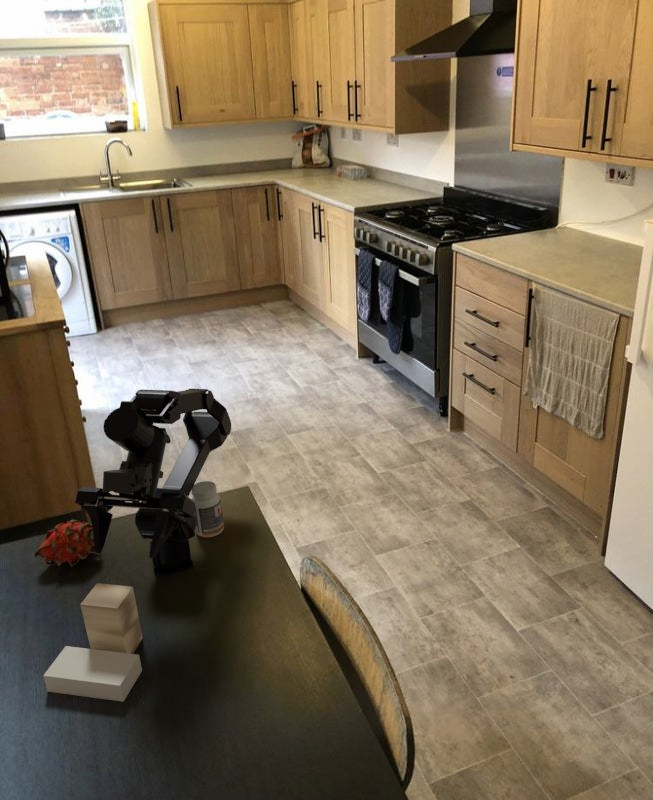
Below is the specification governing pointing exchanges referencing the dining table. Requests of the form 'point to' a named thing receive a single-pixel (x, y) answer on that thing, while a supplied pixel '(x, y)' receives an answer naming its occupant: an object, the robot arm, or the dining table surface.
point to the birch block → (112, 618)
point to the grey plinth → (93, 673)
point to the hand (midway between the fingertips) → (124, 555)
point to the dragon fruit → (67, 543)
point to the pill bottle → (207, 509)
